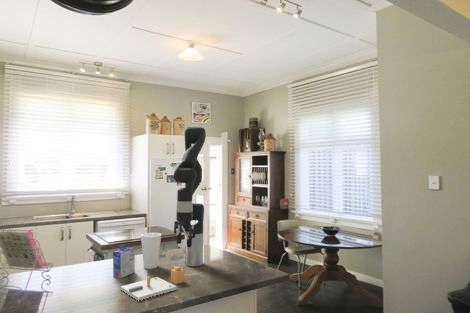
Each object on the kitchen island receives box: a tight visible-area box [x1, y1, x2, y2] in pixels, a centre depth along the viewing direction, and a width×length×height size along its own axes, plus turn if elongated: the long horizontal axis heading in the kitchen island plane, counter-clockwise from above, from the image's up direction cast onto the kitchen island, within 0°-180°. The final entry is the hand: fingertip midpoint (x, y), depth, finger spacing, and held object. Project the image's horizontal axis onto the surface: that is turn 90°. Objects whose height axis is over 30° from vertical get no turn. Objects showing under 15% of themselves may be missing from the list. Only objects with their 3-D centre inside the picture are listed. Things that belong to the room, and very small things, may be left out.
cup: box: [140, 232, 162, 270], centre depth 174 cm, size 11×10×17 cm
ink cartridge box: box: [112, 243, 136, 279], centre depth 162 cm, size 10×6×14 cm, turn 155°
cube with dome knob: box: [170, 266, 185, 285], centre depth 153 cm, size 4×4×6 cm
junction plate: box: [120, 276, 177, 302], centre depth 142 cm, size 16×18×6 cm
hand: (184, 245), depth 153 cm, fingers open, 8 cm apart
